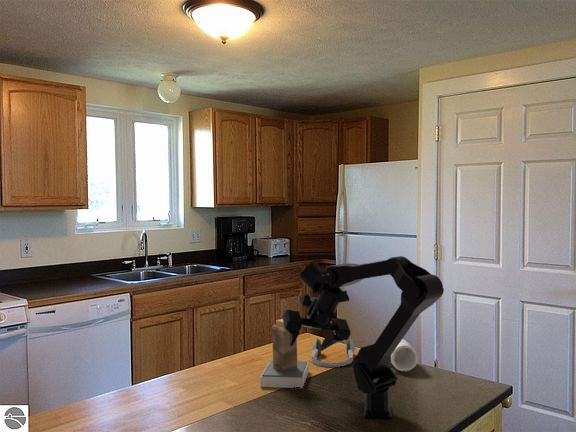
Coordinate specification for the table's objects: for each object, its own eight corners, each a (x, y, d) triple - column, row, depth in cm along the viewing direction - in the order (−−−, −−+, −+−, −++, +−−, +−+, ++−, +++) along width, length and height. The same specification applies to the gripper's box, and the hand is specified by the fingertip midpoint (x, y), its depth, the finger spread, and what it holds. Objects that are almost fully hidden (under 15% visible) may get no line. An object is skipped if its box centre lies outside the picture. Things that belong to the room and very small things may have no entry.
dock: (302, 388, 139) (302, 376, 139) (260, 386, 141) (260, 375, 141) (308, 371, 153) (308, 361, 153) (269, 370, 155) (269, 360, 155)
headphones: (314, 345, 178) (307, 373, 159) (314, 330, 177) (306, 356, 158) (364, 347, 175) (363, 375, 156) (364, 331, 174) (363, 358, 155)
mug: (409, 361, 161) (408, 336, 161) (418, 371, 151) (417, 344, 151) (372, 362, 161) (371, 337, 161) (378, 372, 151) (378, 346, 151)
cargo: (292, 325, 147) (292, 320, 147) (283, 327, 145) (283, 322, 145) (284, 323, 149) (284, 318, 149) (275, 325, 147) (275, 320, 147)
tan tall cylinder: (297, 368, 147) (296, 325, 147) (284, 372, 144) (283, 328, 143) (286, 364, 151) (285, 322, 150) (273, 368, 147) (272, 325, 147)
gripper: (349, 291, 143) (329, 332, 150) (289, 279, 138) (270, 322, 144) (361, 317, 134) (338, 360, 140) (296, 306, 128) (276, 350, 135)
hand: (305, 347), depth 140 cm, fingers open, 9 cm apart
